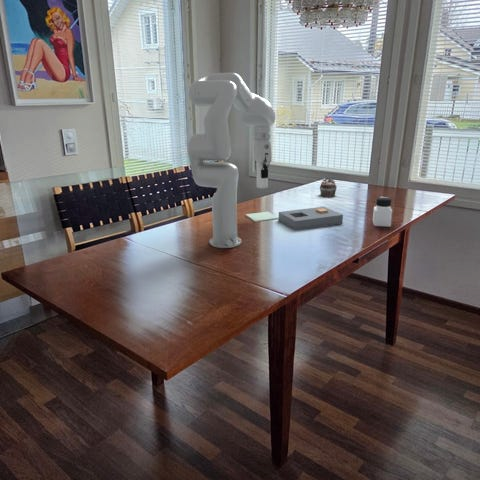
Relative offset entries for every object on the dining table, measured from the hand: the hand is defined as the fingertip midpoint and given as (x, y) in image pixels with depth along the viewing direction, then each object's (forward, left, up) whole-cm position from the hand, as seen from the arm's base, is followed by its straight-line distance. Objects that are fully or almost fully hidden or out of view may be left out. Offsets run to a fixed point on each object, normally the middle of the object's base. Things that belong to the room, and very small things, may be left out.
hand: (262, 176), depth 189 cm
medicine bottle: (-32, -44, -20) cm, 58 cm away
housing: (-16, -17, -20) cm, 30 cm away
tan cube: (-16, -23, -19) cm, 34 cm away
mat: (0, 0, -20) cm, 20 cm away
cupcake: (+26, -53, -20) cm, 62 cm away
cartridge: (0, 0, -5) cm, 5 cm away
